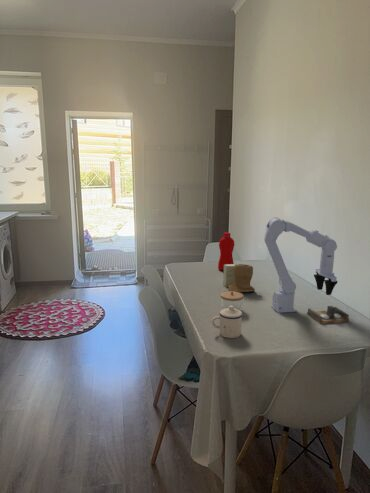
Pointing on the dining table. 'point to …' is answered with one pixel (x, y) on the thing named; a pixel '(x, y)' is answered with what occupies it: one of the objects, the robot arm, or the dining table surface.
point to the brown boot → (242, 278)
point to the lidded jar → (231, 299)
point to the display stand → (319, 319)
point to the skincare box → (228, 275)
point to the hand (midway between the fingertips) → (324, 292)
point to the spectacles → (331, 313)
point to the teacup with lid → (229, 322)
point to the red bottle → (225, 251)
